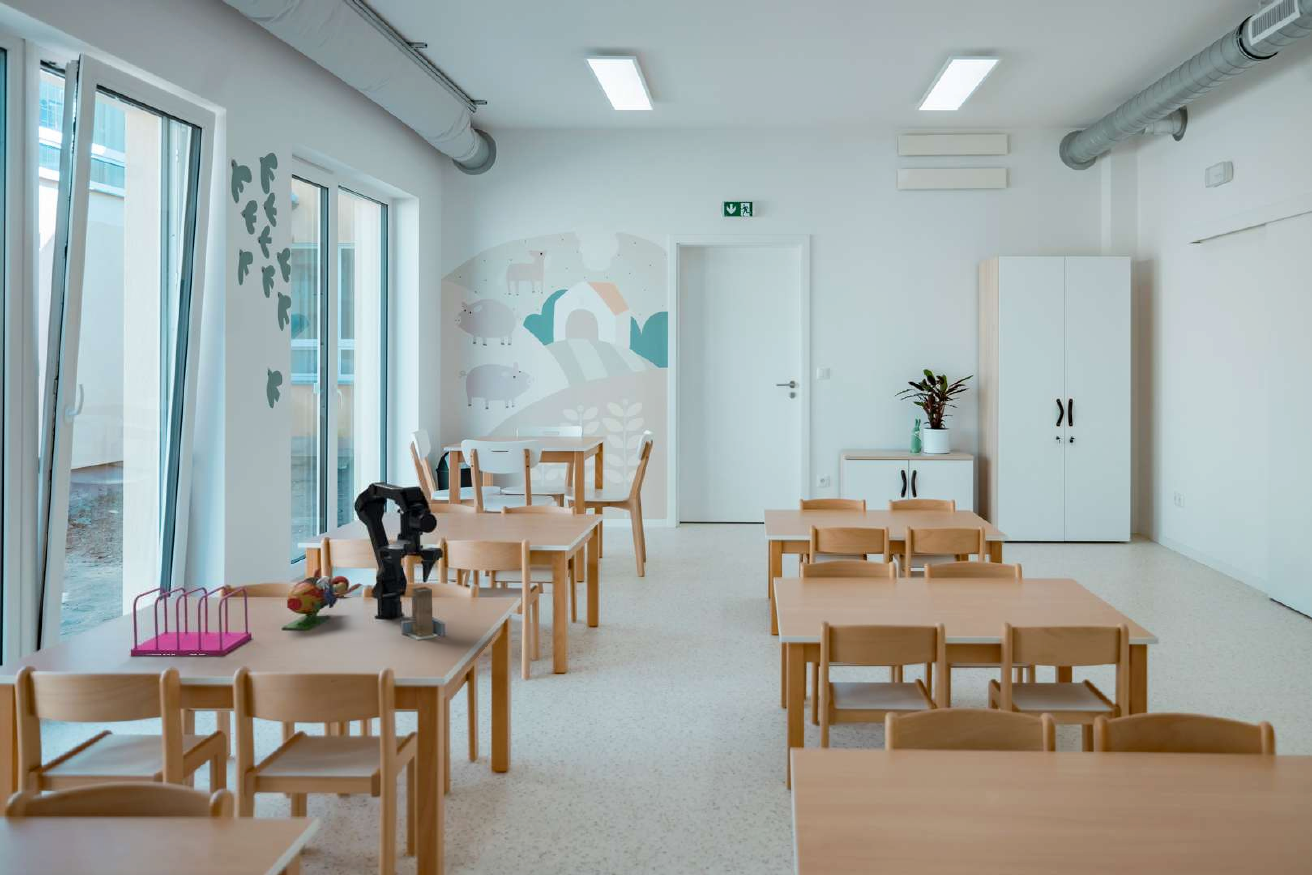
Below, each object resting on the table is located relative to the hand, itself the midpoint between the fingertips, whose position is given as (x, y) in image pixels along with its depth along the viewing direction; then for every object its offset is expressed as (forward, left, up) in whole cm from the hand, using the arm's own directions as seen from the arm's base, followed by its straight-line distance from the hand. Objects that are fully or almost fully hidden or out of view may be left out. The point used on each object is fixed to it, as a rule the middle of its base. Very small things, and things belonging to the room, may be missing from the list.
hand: (411, 581), depth 287 cm
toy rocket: (-30, -8, -13) cm, 34 cm away
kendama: (-46, +22, -13) cm, 53 cm away
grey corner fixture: (+9, -9, -13) cm, 18 cm away
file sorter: (-44, -39, -13) cm, 60 cm away
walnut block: (+10, -10, -12) cm, 19 cm away
